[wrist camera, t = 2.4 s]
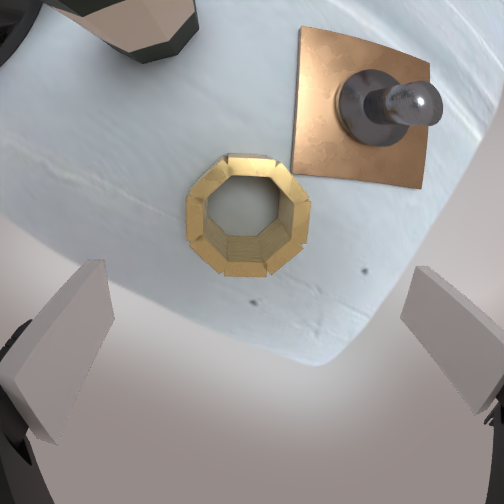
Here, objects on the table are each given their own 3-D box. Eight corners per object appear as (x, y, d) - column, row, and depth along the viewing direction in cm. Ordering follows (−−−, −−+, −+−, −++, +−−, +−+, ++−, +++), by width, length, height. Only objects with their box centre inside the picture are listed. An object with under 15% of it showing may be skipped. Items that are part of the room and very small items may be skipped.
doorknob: (290, 172, 26) (323, 191, 17) (299, 29, 20) (332, -15, 12) (416, 187, 27) (476, 211, 18) (424, 64, 22) (485, 52, 13)
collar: (195, 246, 27) (187, 275, 22) (196, 152, 24) (186, 156, 19) (287, 249, 28) (301, 277, 23) (295, 157, 25) (315, 163, 20)
